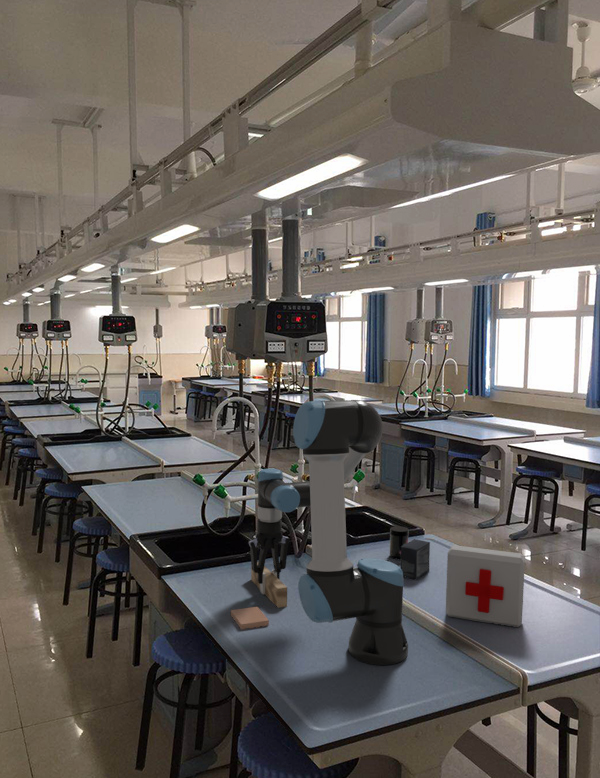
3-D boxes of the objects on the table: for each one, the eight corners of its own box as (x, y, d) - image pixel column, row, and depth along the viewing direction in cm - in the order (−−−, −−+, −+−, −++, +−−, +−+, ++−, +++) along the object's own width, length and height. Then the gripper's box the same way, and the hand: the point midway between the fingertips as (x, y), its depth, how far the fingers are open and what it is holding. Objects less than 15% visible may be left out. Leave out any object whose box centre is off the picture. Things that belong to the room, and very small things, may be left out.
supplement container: (396, 560, 238) (397, 532, 238) (385, 555, 244) (386, 527, 244) (411, 558, 242) (412, 530, 241) (400, 552, 248) (401, 525, 247)
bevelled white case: (444, 619, 189) (446, 551, 188) (447, 608, 197) (450, 543, 195) (521, 631, 182) (524, 561, 180) (522, 620, 189) (525, 552, 188)
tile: (257, 613, 192) (268, 627, 183) (230, 616, 189) (241, 631, 180) (257, 606, 192) (268, 620, 183) (230, 610, 189) (241, 624, 180)
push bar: (286, 606, 196) (287, 587, 196) (277, 608, 195) (277, 588, 194) (259, 579, 218) (259, 561, 218) (251, 580, 217) (251, 562, 216)
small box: (412, 567, 232) (413, 538, 231) (429, 571, 228) (431, 541, 227) (398, 575, 224) (399, 545, 223) (416, 580, 220) (417, 549, 219)
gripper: (289, 513, 211) (287, 584, 213) (241, 517, 205) (239, 591, 207) (298, 519, 204) (296, 593, 206) (248, 524, 198) (247, 600, 200)
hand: (268, 591), depth 206 cm, fingers open, 3 cm apart
